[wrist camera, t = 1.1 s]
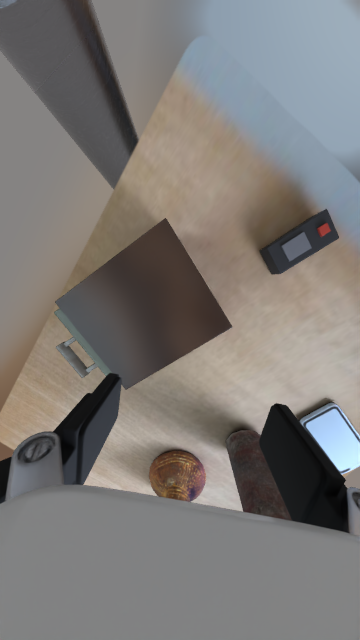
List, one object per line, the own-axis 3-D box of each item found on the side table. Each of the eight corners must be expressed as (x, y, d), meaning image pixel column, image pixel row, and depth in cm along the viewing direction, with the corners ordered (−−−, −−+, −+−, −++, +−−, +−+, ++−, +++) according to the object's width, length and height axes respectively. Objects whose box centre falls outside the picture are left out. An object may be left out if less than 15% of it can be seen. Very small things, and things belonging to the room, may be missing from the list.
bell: (195, 496, 38) (197, 546, 31) (144, 481, 38) (134, 528, 31) (213, 458, 35) (220, 503, 28) (158, 442, 35) (151, 483, 28)
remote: (271, 274, 27) (281, 274, 24) (259, 250, 26) (267, 247, 23) (324, 242, 25) (341, 237, 22) (312, 215, 24) (329, 207, 22)
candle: (240, 417, 33) (319, 619, 13) (271, 435, 33) (388, 651, 14) (218, 444, 34) (258, 657, 15) (247, 460, 35) (322, 684, 16)
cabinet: (143, 358, 31) (125, 390, 22) (95, 294, 28) (54, 301, 20) (218, 312, 28) (232, 327, 19) (172, 238, 26) (165, 217, 17)
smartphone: (336, 403, 30) (375, 458, 32) (332, 399, 31) (370, 453, 33) (299, 423, 32) (339, 476, 34) (296, 419, 32) (335, 470, 35)
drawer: (107, 377, 31) (84, 407, 24) (62, 322, 29) (21, 336, 22) (202, 319, 28) (207, 333, 21) (159, 252, 26) (148, 241, 18)
